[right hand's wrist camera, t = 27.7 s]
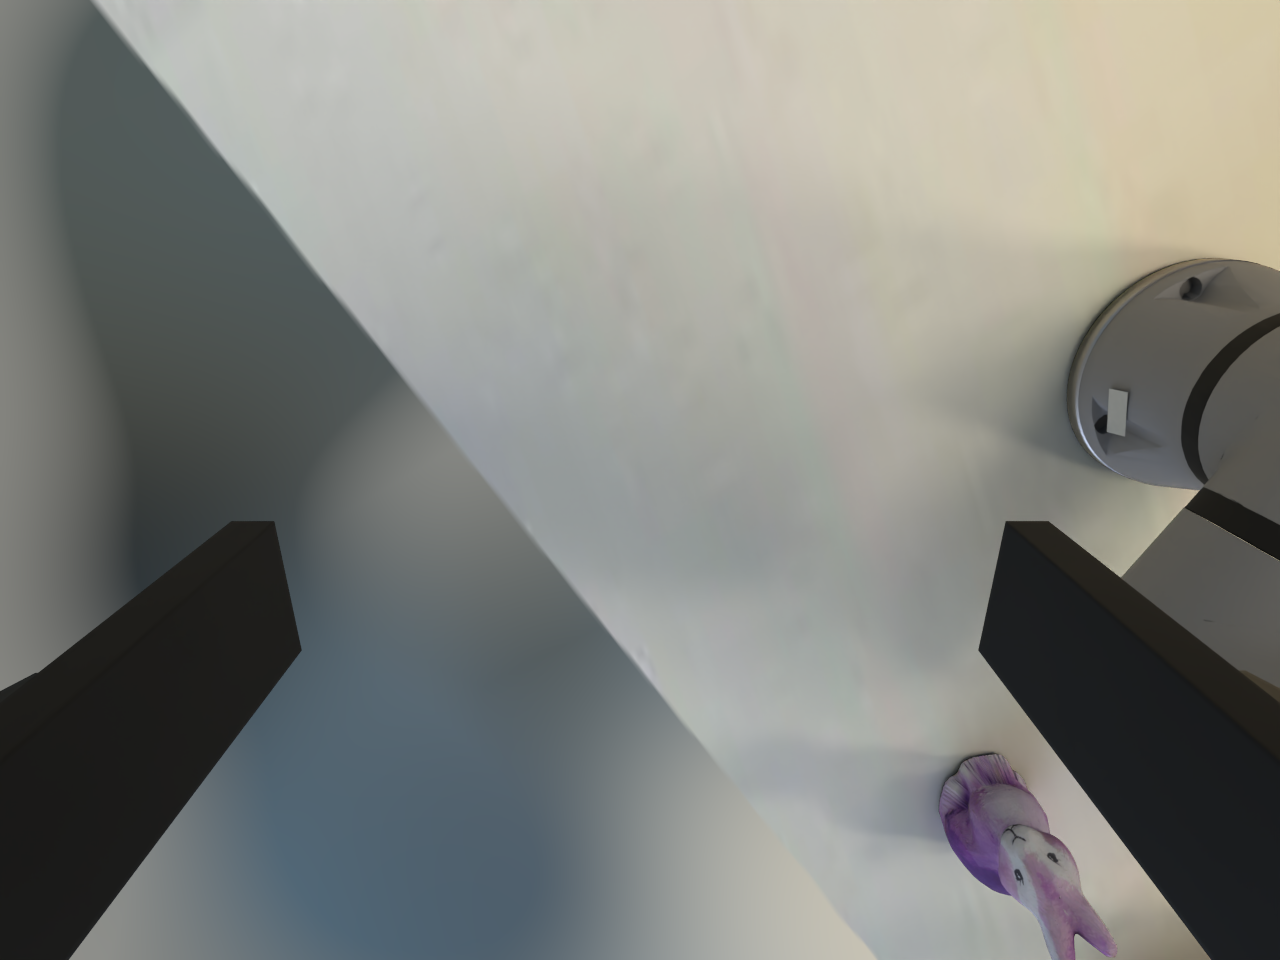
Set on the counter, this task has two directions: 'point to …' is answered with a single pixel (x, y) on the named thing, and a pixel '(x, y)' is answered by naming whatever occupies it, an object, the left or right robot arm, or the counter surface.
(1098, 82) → the counter surface
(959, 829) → the figurine
